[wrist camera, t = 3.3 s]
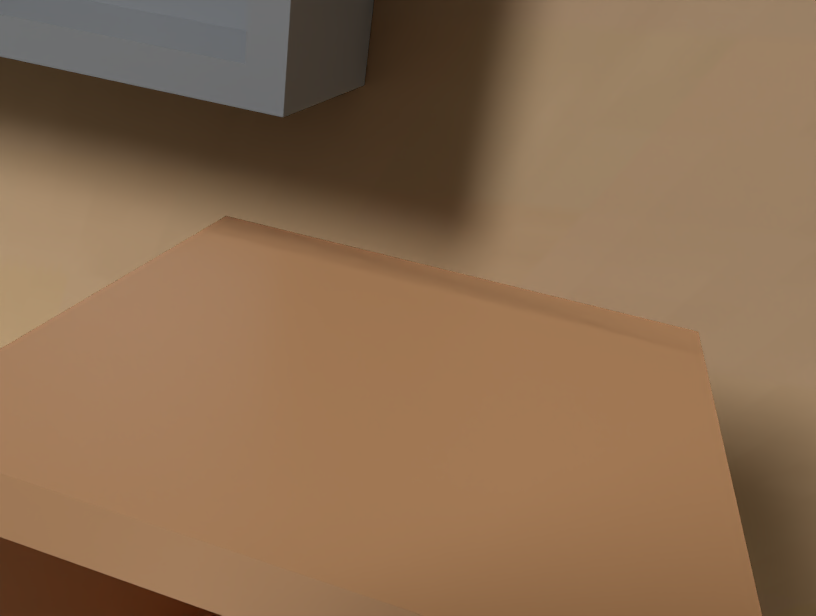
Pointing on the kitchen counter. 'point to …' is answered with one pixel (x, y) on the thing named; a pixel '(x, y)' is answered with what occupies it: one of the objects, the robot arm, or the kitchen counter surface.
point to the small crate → (358, 447)
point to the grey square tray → (201, 46)
